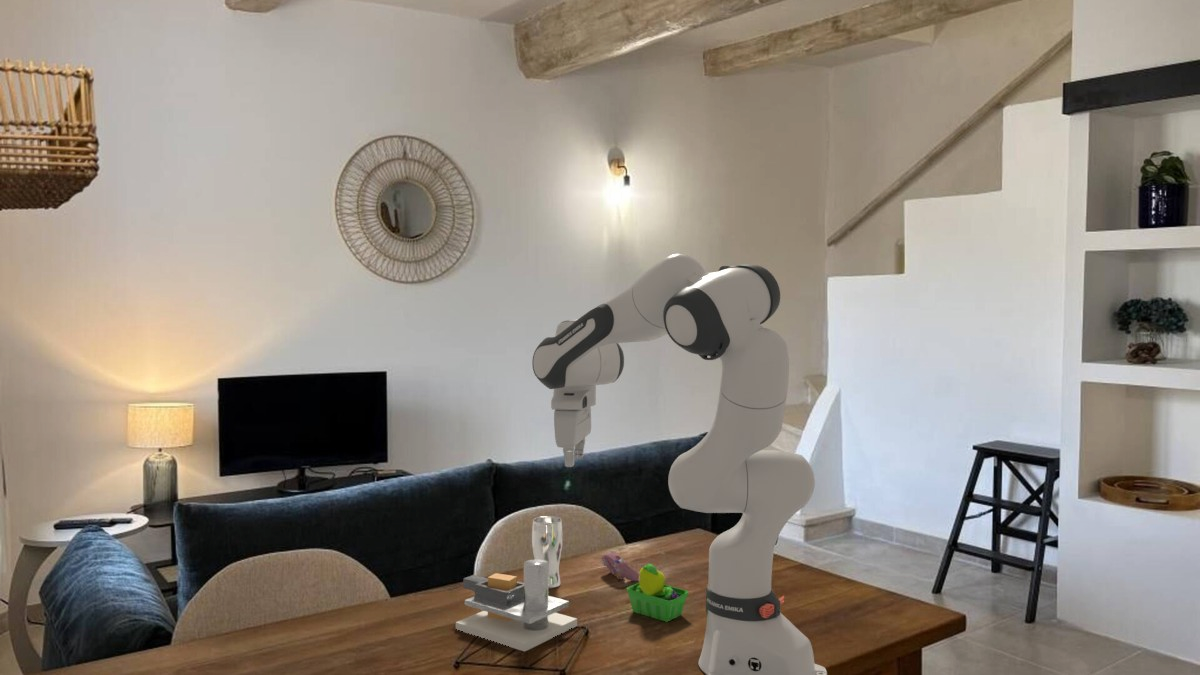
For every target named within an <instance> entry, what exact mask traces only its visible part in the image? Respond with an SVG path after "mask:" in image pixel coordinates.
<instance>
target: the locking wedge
mask: <svg viewBox="0 0 1200 675" xmlns="http://www.w3.org/2000/svg"><path fill="white" fill-rule="evenodd" d="M487 578H488V586H489V587H493V588H497V589H500V590H504V591H508V590H511V589H513V588H516V587H517V581H518V576H517V575H511V574H502V573H497V572H495V573H493V574H491V575H490V576H488V577H487ZM488 617H494V618H499V619H504V620H511V618H507V617H504V616H500V615H497V614H494V613H490V612H488Z"/></svg>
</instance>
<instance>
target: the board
mask: <svg viewBox="0 0 1200 675" xmlns="http://www.w3.org/2000/svg"><path fill="white" fill-rule="evenodd" d="M576 627H578V618H576V617H574V616H573V617H572V616H569V615H566V614H562V613H558V612H555V613H553V614H551V615H549V616H548V627H547V628H546V629H544V630H539V631H532V630H527V629H525V628H524V622H521V621H517V620H514V619H511V620H504V619H499V618H494V617H488V612H487V611H483V610H481V611H480V612H477V613H475V614H472V615H470V616H467V617H464V618H462V619H459V620H458V621H456V622H455V630H456V629H457V630H456V631H458V630H460V631H459V632H461V631H463V632H462V633H466V634H468V633H469V634H468V635H471V634H472V635H471V636H474V635H475V636H474V637H477V636H479V637H478V638H480V637H481V639H483V638H485V639H484V640H487V639H488V640H487V641H490V640H491V641H490V642H493V641H494V642H493V643H496V642H497V644H499V643H500V644H499V645H502V644H503V645H502V646H505V645H506V646H505V647H508V646H509V647H508V648H511V649H512V648H513V649H514V650H518V651H521V652H526V651H529V650H532V649H533V648H536V647H537V646H539V645H542V644H543V643H545V642H547V641H550V640H552V639H554V638H555V636H556V637H557V635H558V636H560V635H561V633H562V634H564V633H566V632H568V631H570V630H572V629H574V628H576ZM571 628H572V629H571ZM569 629H570V630H569ZM553 637H554V638H553Z"/></svg>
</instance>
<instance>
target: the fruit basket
mask: <svg viewBox="0 0 1200 675" xmlns="http://www.w3.org/2000/svg"><path fill="white" fill-rule="evenodd" d="M638 574H639V579H638V582H637V583H635V584H633V585H630V586H628V587H626V592H627V594H628V596H629V601H630V603H631V610H632V611H633V613H637V614H641V615H644V616H647V617H650V618H653V619H655V620H660V621H663V622H666V623H668V621H669V622H670V621H672V619H673V620H675V619H677V618H678V617H681V616H682V614H683V611H684V606H685V603H686V599H687V597H688V595H689V591H688V590H687V589H682V588H678V587H675V586H671V585H667V584H665V581H666V577H665V575H664V573H663V572H662V571H660V570H659V569H657V568H656V567H655V565H654V564H652V563H647V564H646V565H644V566H643V567H641V569H640V570H639V573H638ZM680 615H681V616H680ZM674 618H675V619H674Z"/></svg>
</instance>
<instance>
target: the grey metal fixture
mask: <svg viewBox="0 0 1200 675" xmlns="http://www.w3.org/2000/svg"><path fill="white" fill-rule="evenodd" d="M462 582H463V585H462V586H463V587H462V588H463V589H466V590H469V591H472V592H474V596H472V597H469V598H466V599H464V606H467V607H470V608H474V609H476V610H481V611H487V612H490V613H494V614H497V615H500V616H504V617H507V618H511V619H514V620H517V621H521V622H524V628H525V629H527V630H532V631H539V630H544V629H546V628H547V627H548V616H549V615H551V614H553V613H558V612H560V611H562V610H564V609H566V608H568V607H570V601H569V600H566V599H562V598H559V597H555V596H551V595H549V589H548V562H547V561H545V560H539V559H527V560H525V561H524V562H523V582H522V581H518V580H517V587H516V588H513V589H511V590H508V591H504V590H500V589H497V588H493V587H489V586H488V577H484V576H479V575H477V574H472V575H470V576H467V577H464V578H463V581H462Z"/></svg>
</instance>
